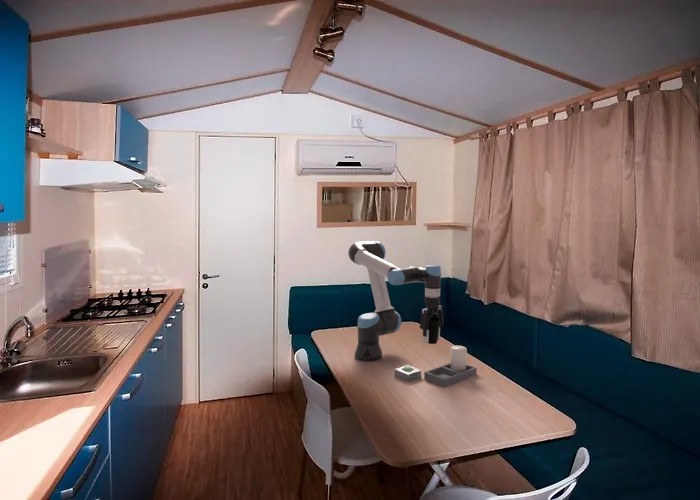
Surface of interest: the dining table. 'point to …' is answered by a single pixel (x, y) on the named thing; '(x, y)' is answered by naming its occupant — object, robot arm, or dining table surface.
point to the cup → (433, 330)
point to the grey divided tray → (448, 375)
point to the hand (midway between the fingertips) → (431, 340)
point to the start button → (407, 369)
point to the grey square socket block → (407, 373)
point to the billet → (458, 358)
